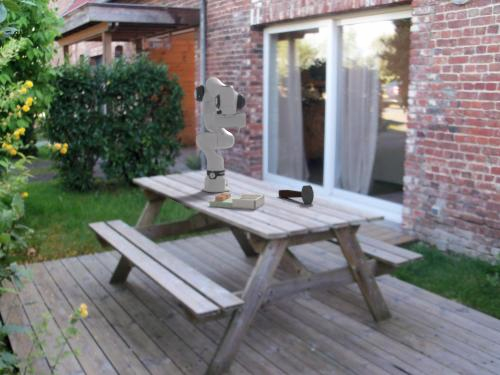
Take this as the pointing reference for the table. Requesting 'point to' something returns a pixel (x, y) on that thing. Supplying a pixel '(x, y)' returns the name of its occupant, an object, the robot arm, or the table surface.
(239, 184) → the table surface
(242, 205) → the tray
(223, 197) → the tile
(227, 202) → the board
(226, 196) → the tile
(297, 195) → the hammer
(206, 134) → the robot arm
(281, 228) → the table surface
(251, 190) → the table surface
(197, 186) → the table surface
